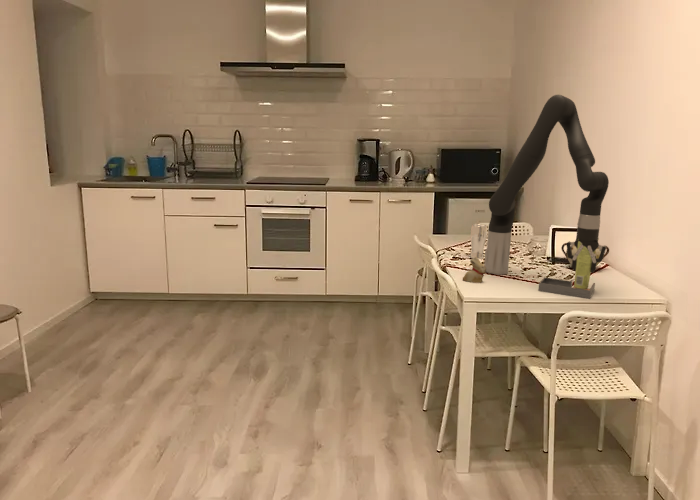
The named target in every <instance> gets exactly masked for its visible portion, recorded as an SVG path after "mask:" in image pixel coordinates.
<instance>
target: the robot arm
mask: <svg viewBox="0 0 700 500" xmlns="http://www.w3.org/2000/svg"><path fill="white" fill-rule="evenodd" d="M557 123H559V125H560V126H561V128H562V129H563V131H564V133H565V136H566V140H567V147H568V152H569V155H570V157H571V160H572V162H573V164H574V166H575V171H576V181H577V183H578V186H579V187H580V189H581V190H582V191H584V192H588V195H587V196H586V197H584V198H582V199H581V201H580V207H579V216H578V218H577V219H578V221H577V227H576V228H577V229H576V239H575V240H574V241H567V242H566V243H567V245H566V250H567V256H568V258H570V259H572V265H571V269H572V270H573V271H576V260H577V256H578V255H579V253H580V252H581V250H582V249H583V247H584V246H585V247H586V248H587V249H588V251H589V253H590V256H591V258H592V261H593V262H592V267H591V273H592V274H593V273H594V272H596V270H597V266H596V264H597V262H600V263H601V262H602V261H603V259H604V258H603V256H604V254H605V253H606V251H607V249H606V246H607V245H601V244H600V243H599V240H598V238H599V234H600V227H601V226H600V225H601V211H602V204H603V201H604V199H605V198H606V197H605V196H606V194H607V192H608V189H609V184H610V183H609V178H608V175H607V173H606V172H603V171H593V170H592V167H594V166H595V164H596V158H595V157H594V154H593V152H592V149H591V147H590V146H589V143H588V141H587V139H586V137H585V134H584V131H583V128H582V125H581V121H580V118H579V113H578V110H577V107H576V104H575V102H574V101H573V100H572V99H570V98H568V97H566V96H564V95H562V94H554V95H552V96H551V97H550V98H548V99H547V101H546V102H545V104H544V106H543V107H542V110H541V111H540V113H539V116H538V118H537V120H536V123H535V124H534V126H533V128H532V129H531V131H530V133H529V134H528V137H527V138H526V139H525V142H524V143H523V145H522V147H520V149H519V151H518V152H517V154H516V156H515V158H514V159H513V160H514V161H513V162H512V164H511V166H510V167H509V169H508V171H507V174H506V176H505V178H504V179H503V181H502V182H501V184H500V185H499V186H498V188H497V190H496V191H494V193H493V194H492V196H491V197H490V199H489V201H488V209H489V211H490V212H491V216H490V221H489V223H488V230H487V231H488V232H487V244H486V248H485V253H484V264H483V265H484V266H485V267H486V271H485V273H489V274H494V275H507V274H508V273H509V264H510V253H511V252H510V251H511V241H512V230H513V225H514V219H515V211H516V197H517V195H518V193H519V192H520V191H521V189H522V188H523V186H524V185H525V184H526V183H527V182H528V181H529V179H530V178H531V177H532V175H533V174H534V173H535V172H536V171H537V169H538V167H539V166H540V164H541V162H542V161H543V159H544V158H545V155H546V152H547V149H548V143H549V138H550V135H551V133H552V131H553V130H554V128H555V126H556V125H557ZM578 239H579V240H578ZM578 241H580V242H581V243H582V244H581V245H580V247H579V248H578ZM573 245H575V246H576V248H578V250H577V252H576V253H575V255H574V256H573V255H572V249H571V248H572V247H573ZM597 248H599V251H601V253H600V256H599V258H597V259H596V255H595V254H594V253H593V252H594V251H595V250H596V249H597ZM579 250H580V251H579Z"/></svg>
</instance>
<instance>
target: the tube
mask: <svg viewBox="0 0 700 500" xmlns="http://www.w3.org/2000/svg"><path fill="white" fill-rule="evenodd" d="M578 240H579V239H578ZM599 240H600V238H599V237H598V241H599ZM581 244H582V243H581V242H580V241H578V248H579V247H580V245H581ZM578 248H577V250H578ZM579 251H580V250H579ZM593 253H594V254H595V251H594V252H593ZM592 262H593V261H592V258H591V256H590V253H589V251H588V249H587V248H586V247H585V246H584V247H583V249H582V250H581V252H580V253H579V255H578V256H577V260H576V270H575V273H574V274H575V275H574V282H573V283H574V285H573V287H576V288H579V289H589V283H590V278H591V267H592Z"/></svg>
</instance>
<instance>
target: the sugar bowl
mask: <svg viewBox="0 0 700 500" xmlns="http://www.w3.org/2000/svg"><path fill="white" fill-rule="evenodd" d="M565 246H567V242H565V243H563V244H562V245H561V251H562V253H563V255H564V256H565V258H566V259H567V260H568V262H569V263H570V265H571V266H572V259H570V258H568V256H567V249H566V251H565V249H564V248H565ZM605 246H606V251H605V253H604V256H603V259H605V257H607V256H608V254H609V252H610V247H609V246H607V245H605ZM571 249H572V255H573V256H574V255H575V253H576V252H577V248H576V246H575V245H573V247H572V248H571ZM600 253H601V251H599V248H597V249H596V250H595V255H596V259H597V258H599V256H600ZM600 263H601V262H597V264H596V267H597V266H598V265H599V264H600Z"/></svg>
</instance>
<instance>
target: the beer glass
mask: <svg viewBox="0 0 700 500" xmlns="http://www.w3.org/2000/svg"><path fill="white" fill-rule="evenodd" d="M486 240H487V225H486V224H482V223H472V224H471V229H470V246H471V247H470V248H471V250H470V255H469V258H471V259H473V258H474V257H477V258H478V259H479V260H482V259H485V255H484V248H485V244H486Z"/></svg>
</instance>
